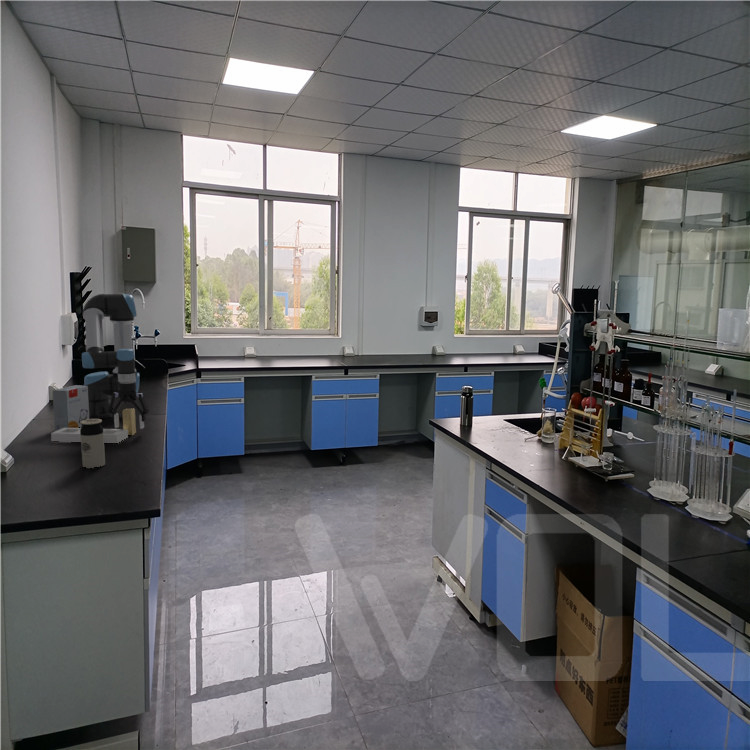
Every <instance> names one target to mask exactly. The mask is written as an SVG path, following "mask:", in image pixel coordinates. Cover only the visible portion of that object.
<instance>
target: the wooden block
mask: <svg viewBox="0 0 750 750" xmlns="http://www.w3.org/2000/svg"><path fill="white" fill-rule="evenodd" d="M121 413H122V429H128V435H132V436H135V435H136V434H137V428H136V427H137V426H136V424H137V423H136V409H135V408H125V409H122V412H121ZM135 433H136V434H135Z"/></svg>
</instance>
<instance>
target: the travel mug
mask: <svg viewBox="0 0 750 750" xmlns="http://www.w3.org/2000/svg"><path fill="white" fill-rule="evenodd" d="M102 422H103V420H102V419H87V420H83V421H81V422H80V423H81V425H82V427H80V428H81V430H80V435H81V443H80V444H81V445H80V446H81V447H80V449H81V460H82V461H81V462H82V464H81V465H82V467H83V468H84V467H86V469H90V468H92V469H95V468H94V467H99V468H101V467H103V466H105V465H106V457H105V456H106V454H105V453H106V452H105V444H104V435H103V429H104V428H103V426H102ZM100 466H101V467H100Z"/></svg>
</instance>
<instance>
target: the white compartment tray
mask: <svg viewBox="0 0 750 750" xmlns="http://www.w3.org/2000/svg"><path fill="white" fill-rule="evenodd" d="M81 428H82V427H80V428H62V429H60V430H57V431H55V430H54V431H53V432H51V433H50V437H51V442H52V441H59V442H58V443H71V442H81V435H80V430H81ZM103 435H104V443H118V444H120V443H122V442H123V441H125V440H127V439H128V438H129V436H128V429H123V428H121V429H120V428H103ZM126 438H127V439H126ZM124 439H125V440H124ZM122 440H123V441H122ZM121 441H122V442H121ZM119 442H120V443H119Z"/></svg>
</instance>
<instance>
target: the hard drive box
mask: <svg viewBox="0 0 750 750" xmlns="http://www.w3.org/2000/svg"><path fill="white" fill-rule="evenodd" d="M52 402H53V403H52V404H53V420H54V421H53V422H54V432H55V431H57V430H60V429H62V428H79V427H80V428H82V425H81V423H80V422H81V421H83V420H87V419H89V402H88V386H85V385H80V384H79V385H77V384H75V385H71V386H70V385H69V386H66V387H62V388H61V387H60V388H57V389H53V390H52Z"/></svg>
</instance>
